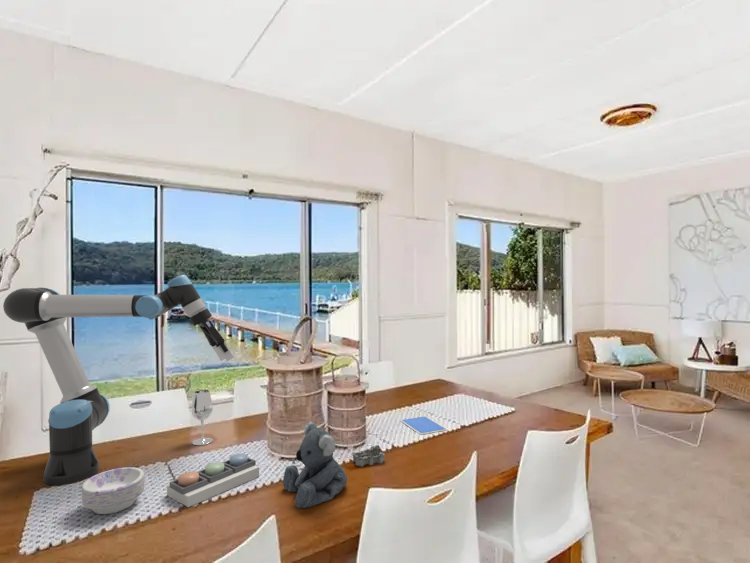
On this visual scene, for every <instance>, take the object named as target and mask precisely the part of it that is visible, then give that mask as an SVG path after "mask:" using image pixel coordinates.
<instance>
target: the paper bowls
mask: <svg viewBox="0 0 750 563" xmlns="http://www.w3.org/2000/svg"><path fill="white" fill-rule="evenodd" d="M145 481H146V480H145V472H144V470H143V469H141V468H139V467H138V468H137V467H134V466H133V467H131V466H130V467H129V466H128V467H118V468H112V469H109V470H106V471H102V472H100V473H97V474H94V475H92V476H90V477H88V478H87V480H86V479H85V481H84V483H82V485H81V504H82V506H83V507H84V508H85V509H89V510H92V512H94V513H95V514H98V515H110V514H115V513H119V512H121V511H124V510H126V509H128V508H129V507H131V506H132V505H133V504H134V503H135V502H136V499H138V498H139V497H140V496H141V495H142V494H143V493H144V491H145V488H146V487H145V484H146V482H145Z"/></svg>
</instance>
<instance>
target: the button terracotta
mask: <svg viewBox="0 0 750 563" xmlns="http://www.w3.org/2000/svg"><path fill="white" fill-rule="evenodd" d="M177 479H178V485H179V486H190V485H193V484H195V483H197V482H198V481H199V473H198V471H187V472H183V473H181V474H179V475H178V476H177Z"/></svg>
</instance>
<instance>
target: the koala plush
mask: <svg viewBox="0 0 750 563" xmlns="http://www.w3.org/2000/svg"><path fill="white" fill-rule="evenodd" d="M303 431H304V433H303V434H304V437H303V439H302V441H301V444H300V446H299V448H298V450H297V451H296V454H295V459H297V461H299V462H301V463H302V464H303V465H304V467H303V468H302V469H301V471H300V472H299V469H298V467H297V466H296V465H295V464H291V465H287V466H285V469H284V473H283V479H282V486H283V488H284V489H285V491H287V492H289V493H296V496H295V498H294V504H295V506H296V507H297V508H298V509H300V508H302V509H306V508H312V507H314V506H318V505H319V504H322V503H323V502H330V501H331V500H333V499H334V498H335V496H337V495H338V494H339V493H340V492H342V491H343V489H344V488H345V487H346V485H347V482H348V477H347V474H346V471H345V469H344V468H343V466H341V465H340V463H339V462H337V461H336V459H334V452H335V451H336V443H335V439H334V436H332V435H330V434H329V432H327V431H326V430H325V429H323V428H318V426H317V425H316V424H315V423H313V422H312V421H309V422H308V423H306V424H305V425H304V429H303Z"/></svg>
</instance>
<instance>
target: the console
mask: <svg viewBox="0 0 750 563" xmlns="http://www.w3.org/2000/svg"><path fill="white" fill-rule="evenodd" d="M247 458H248V462H247V463H246V464H243V465H240V466H231V465H230V463H229V459H228V460H224V461H222V463H224V472H223V473H220V474H218V475H214V476H208V475H206V474H205V468H204V469H201V470H198V471H197V472H198V473H199V481H198V482H197V483H195V484H193V485H190V486H179V485H178V478H177V479H174V480H172V481H170V482H169V483H168V484H167V485H166V495H167V496H168V497H170V498H171V499H173V500H175V501H177V502H179V503H180V504H181V505H183V506H185V507H187V508H190V507H192V506H194V505H197V504H199V503H201V502H204V501H205V500H206V501H207V500H208V499H210V498H212V497H215V496H217V495H219V494H222V493H225V492H226V491H228V490H231V489H233V488H235V487H237V486H240V485H242V484H245V483H247V482H249V481H252V480H254V479H257V478H259V477H260V466H258V465H256V464H257V462H256V460H255V459H253V458H250V457H248V456H247Z"/></svg>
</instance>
